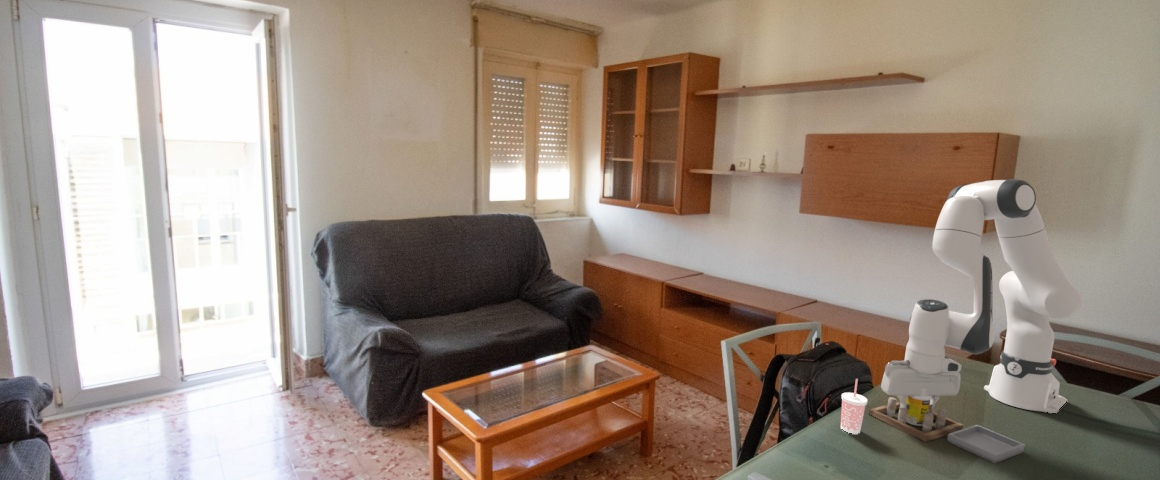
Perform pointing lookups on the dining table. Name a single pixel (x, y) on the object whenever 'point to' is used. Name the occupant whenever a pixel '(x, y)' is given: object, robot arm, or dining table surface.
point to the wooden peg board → (927, 424)
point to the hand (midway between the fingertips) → (916, 409)
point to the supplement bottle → (918, 408)
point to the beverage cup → (852, 411)
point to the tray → (986, 443)
